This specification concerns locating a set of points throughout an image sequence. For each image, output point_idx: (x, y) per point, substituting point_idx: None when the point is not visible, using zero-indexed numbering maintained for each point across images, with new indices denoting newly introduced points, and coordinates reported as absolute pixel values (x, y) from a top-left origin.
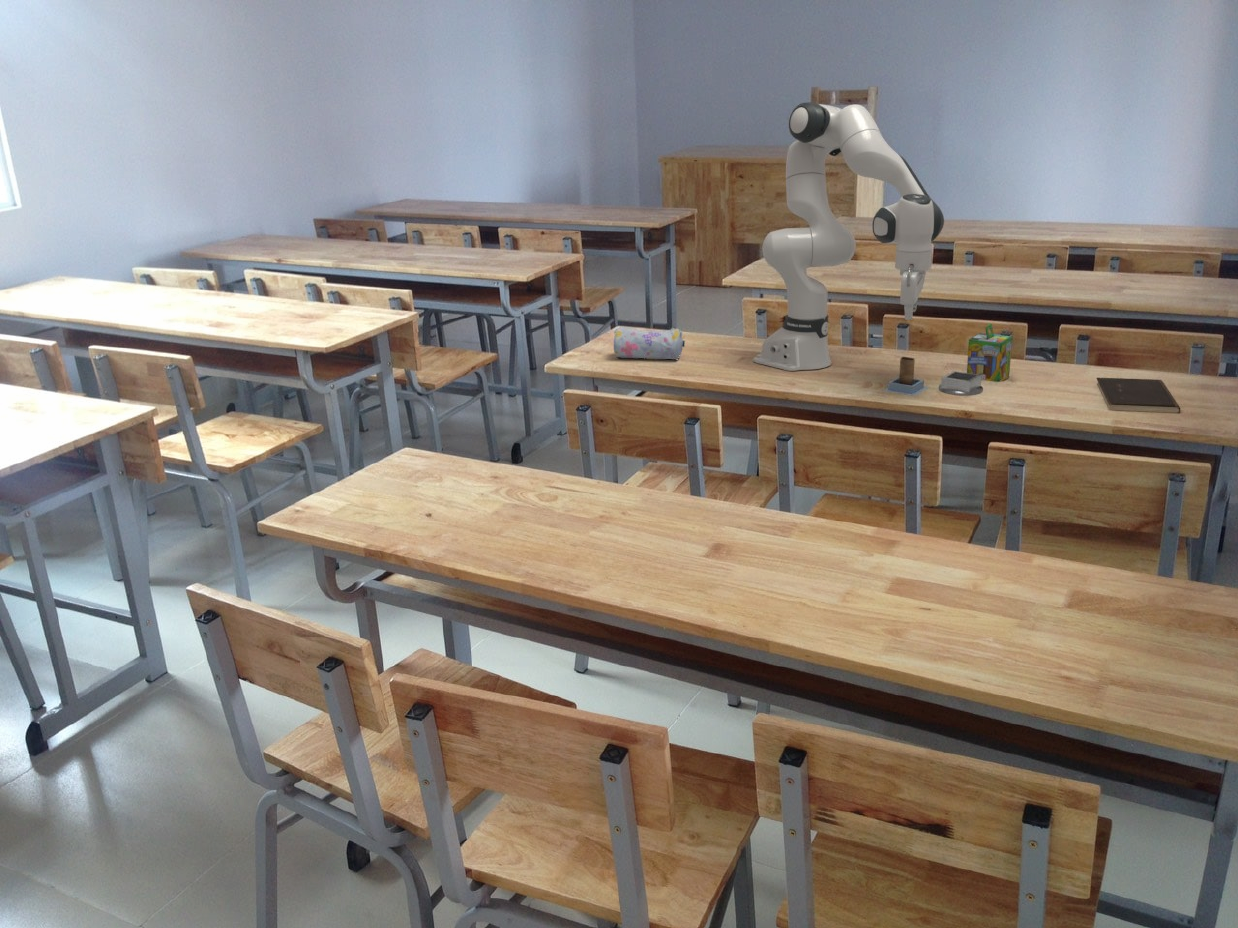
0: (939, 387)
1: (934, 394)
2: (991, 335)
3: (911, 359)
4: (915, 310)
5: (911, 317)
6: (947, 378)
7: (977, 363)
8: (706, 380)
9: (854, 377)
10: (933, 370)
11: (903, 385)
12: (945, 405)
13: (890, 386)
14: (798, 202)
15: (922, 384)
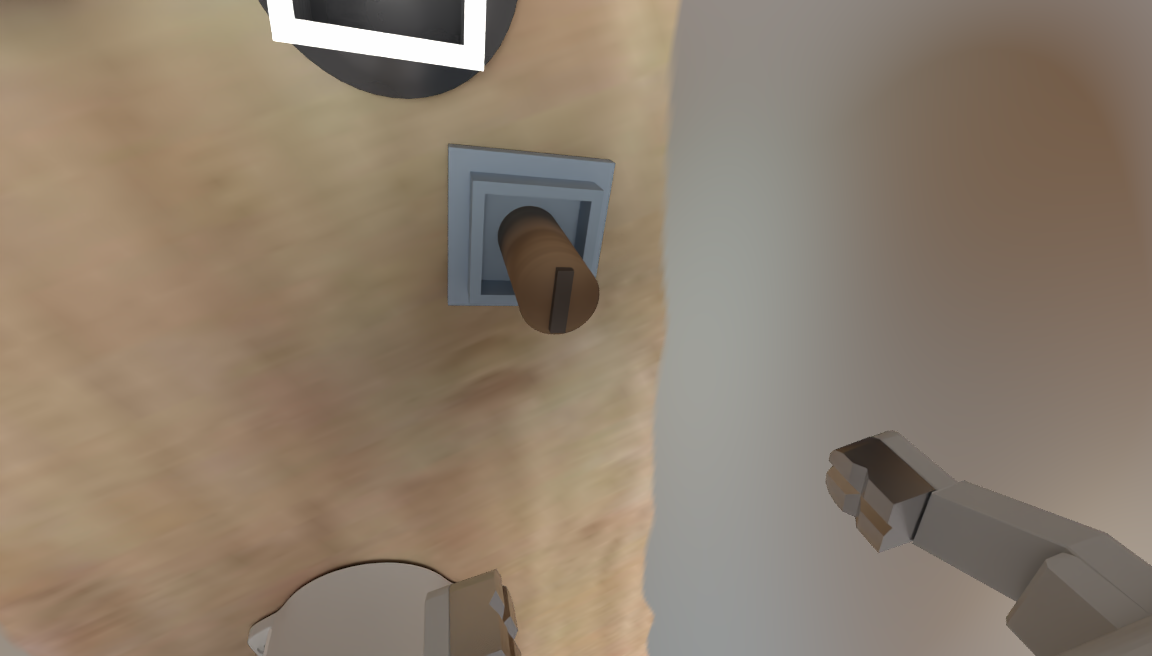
0: (457, 83)
1: (490, 97)
2: None
3: (571, 274)
4: (493, 582)
5: (913, 446)
6: (484, 26)
7: None
8: (636, 636)
9: (429, 457)
10: (42, 258)
11: (595, 236)
12: None
13: None
14: None
15: (488, 177)
